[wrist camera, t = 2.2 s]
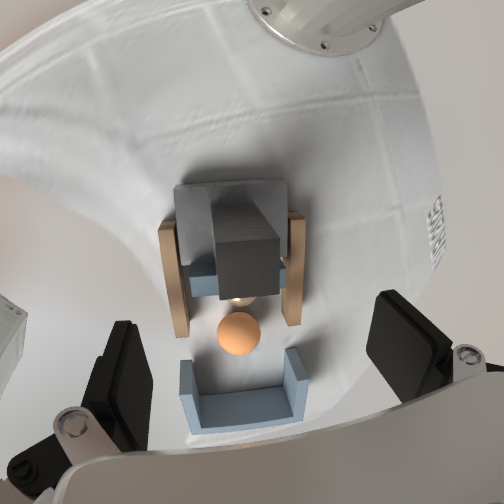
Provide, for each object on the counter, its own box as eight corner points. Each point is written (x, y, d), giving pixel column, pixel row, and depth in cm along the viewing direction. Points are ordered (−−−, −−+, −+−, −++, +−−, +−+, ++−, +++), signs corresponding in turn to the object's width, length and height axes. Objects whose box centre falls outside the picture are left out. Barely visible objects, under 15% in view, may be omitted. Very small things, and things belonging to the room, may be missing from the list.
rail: (161, 221, 24) (157, 230, 22) (296, 211, 26) (305, 219, 23) (177, 322, 28) (176, 337, 26) (293, 310, 29) (300, 324, 27)
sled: (175, 185, 23) (158, 219, 14) (281, 178, 24) (330, 207, 15) (185, 276, 26) (180, 351, 17) (280, 267, 27) (319, 335, 18)
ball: (213, 306, 28) (216, 331, 24) (256, 301, 28) (264, 326, 25) (217, 339, 29) (220, 365, 26) (257, 334, 30) (264, 360, 26)
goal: (180, 360, 30) (179, 394, 25) (295, 347, 31) (309, 379, 27) (190, 402, 33) (191, 434, 28) (291, 390, 34) (302, 420, 30)
